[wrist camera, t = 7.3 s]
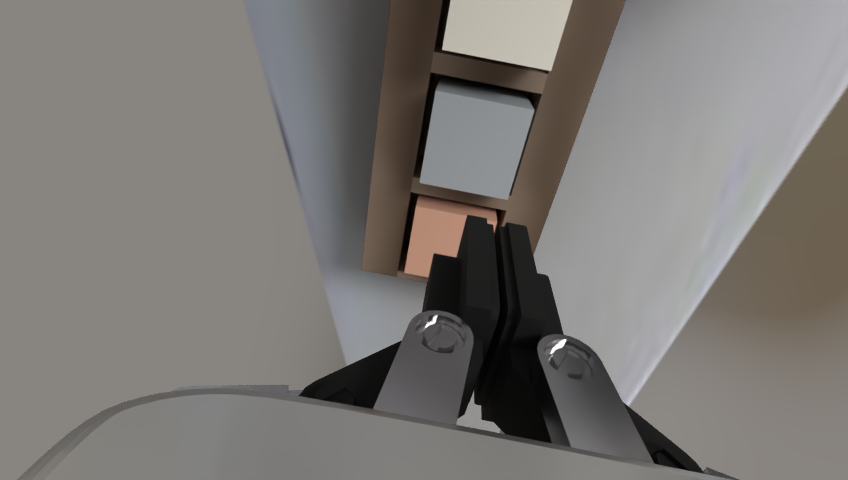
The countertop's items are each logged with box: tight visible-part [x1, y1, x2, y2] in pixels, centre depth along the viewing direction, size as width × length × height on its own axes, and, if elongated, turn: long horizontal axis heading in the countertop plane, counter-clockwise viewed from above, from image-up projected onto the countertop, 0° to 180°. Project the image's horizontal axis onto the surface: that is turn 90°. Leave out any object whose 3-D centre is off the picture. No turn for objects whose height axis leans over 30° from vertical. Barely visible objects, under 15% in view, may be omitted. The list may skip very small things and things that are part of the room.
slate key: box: [420, 77, 534, 200], centre depth 24 cm, size 5×5×4 cm
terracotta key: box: [404, 194, 497, 277], centre depth 28 cm, size 5×5×4 cm
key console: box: [361, 0, 626, 282], centre depth 26 cm, size 11×21×5 cm, turn 170°
